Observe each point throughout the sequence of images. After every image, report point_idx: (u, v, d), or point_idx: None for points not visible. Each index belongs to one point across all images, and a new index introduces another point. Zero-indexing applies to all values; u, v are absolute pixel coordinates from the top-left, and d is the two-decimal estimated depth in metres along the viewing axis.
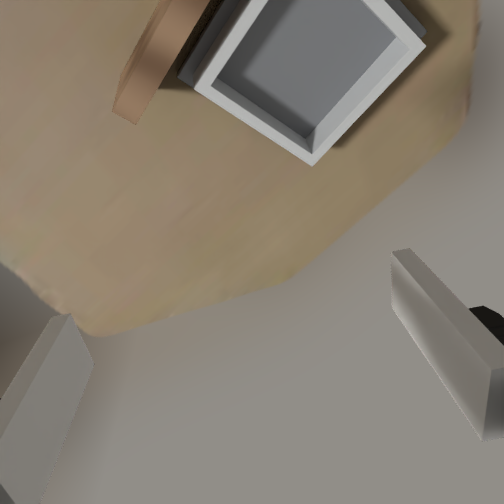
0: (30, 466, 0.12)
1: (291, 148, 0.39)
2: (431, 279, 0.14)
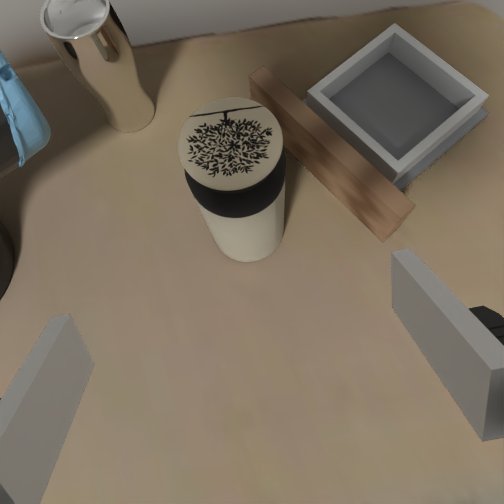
0: (30, 466, 0.12)
1: (466, 110, 0.44)
2: (431, 279, 0.14)
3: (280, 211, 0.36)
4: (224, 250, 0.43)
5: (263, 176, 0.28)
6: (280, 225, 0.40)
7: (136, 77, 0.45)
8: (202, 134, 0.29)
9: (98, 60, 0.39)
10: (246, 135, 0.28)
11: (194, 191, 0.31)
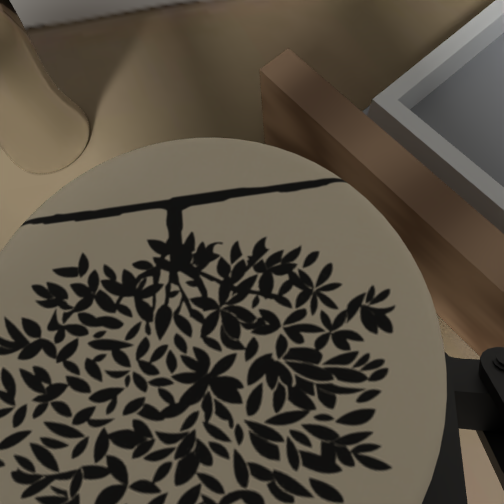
0: None
1: None
2: None
3: None
4: None
5: None
6: None
7: (33, 73, 0.22)
8: (65, 314, 0.06)
9: None
10: (269, 327, 0.06)
11: None
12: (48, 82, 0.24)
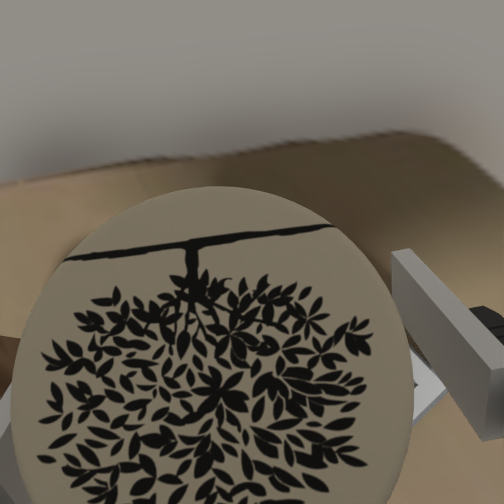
0: None
1: None
2: (431, 279, 0.14)
3: None
4: None
5: None
6: None
7: None
8: (102, 337, 0.08)
9: None
10: (270, 350, 0.07)
11: None
12: None
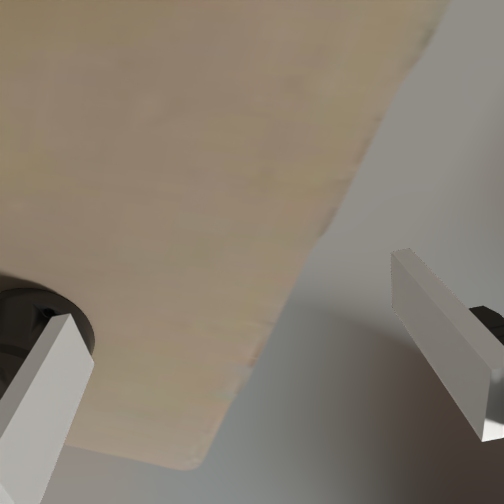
0: (30, 466, 0.12)
1: None
2: (431, 279, 0.14)
3: None
4: None
5: None
6: None
7: None
8: None
9: None
10: None
11: None
12: None
